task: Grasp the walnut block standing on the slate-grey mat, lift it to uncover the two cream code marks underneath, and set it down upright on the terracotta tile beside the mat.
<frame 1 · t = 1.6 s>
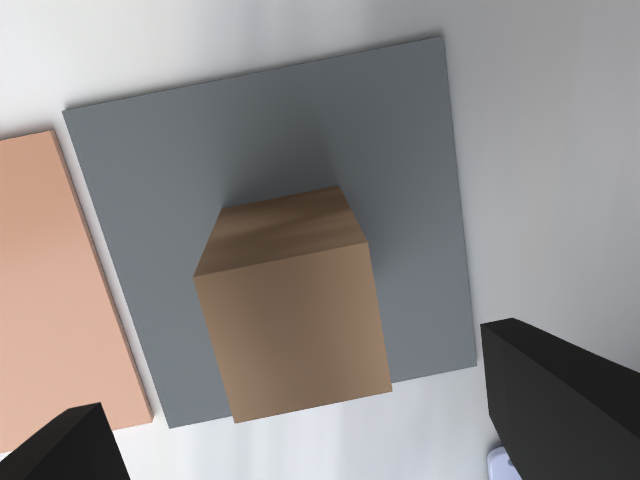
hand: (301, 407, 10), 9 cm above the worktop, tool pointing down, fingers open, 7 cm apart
walnut block: (292, 252, 18), resting on code mat
code mat: (292, 250, 18), on the worktop
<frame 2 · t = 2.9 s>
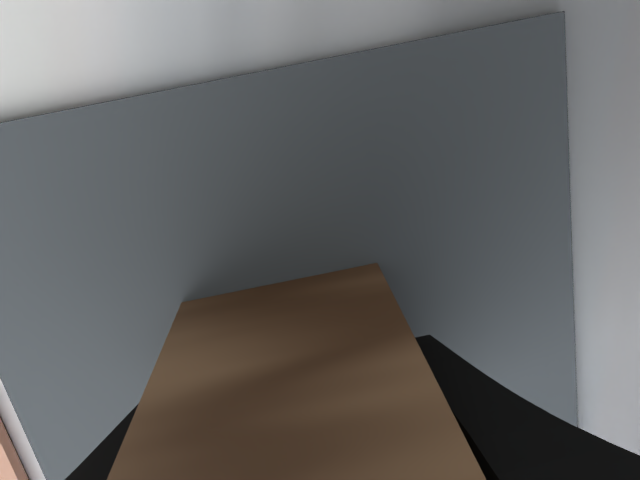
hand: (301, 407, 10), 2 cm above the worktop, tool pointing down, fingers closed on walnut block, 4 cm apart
walnut block: (299, 367, 11), resting on code mat, touching gripper
code mat: (298, 362, 11), on the worktop
when the fingers open (3 cm above the worktop, at t = 7.6 s): walnut block drops 1 cm, resting on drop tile.
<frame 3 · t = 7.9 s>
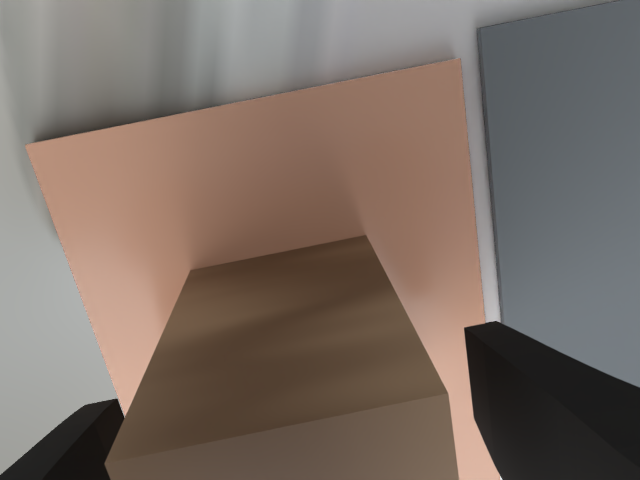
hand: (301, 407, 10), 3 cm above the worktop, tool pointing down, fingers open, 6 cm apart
walnut block: (296, 330, 12), resting on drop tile
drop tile: (296, 331, 13), on the worktop
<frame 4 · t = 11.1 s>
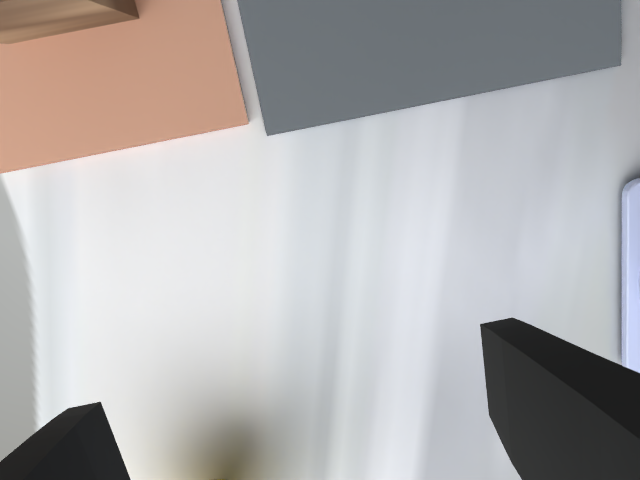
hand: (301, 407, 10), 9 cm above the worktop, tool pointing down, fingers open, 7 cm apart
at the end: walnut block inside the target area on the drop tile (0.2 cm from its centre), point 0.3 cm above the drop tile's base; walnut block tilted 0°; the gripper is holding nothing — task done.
